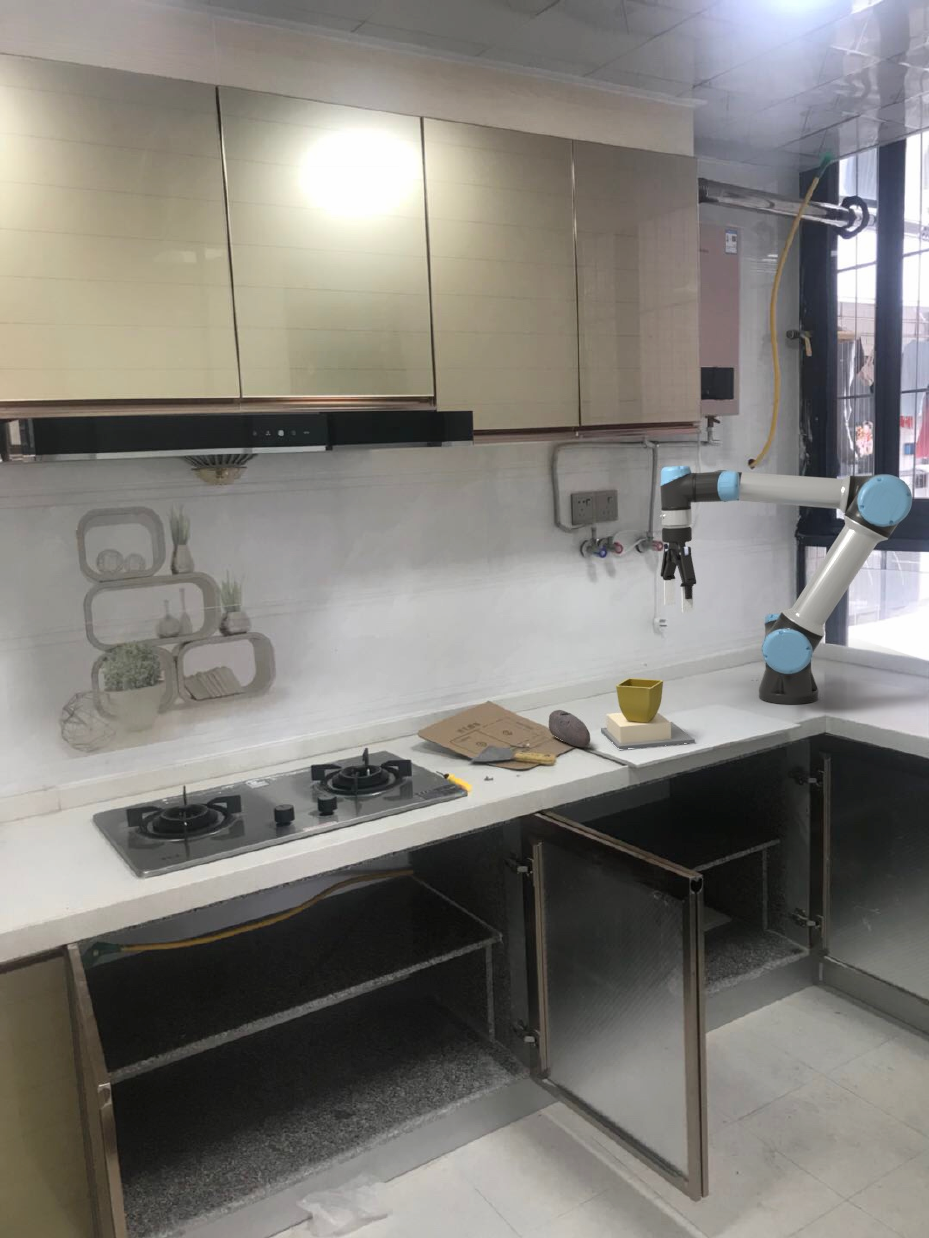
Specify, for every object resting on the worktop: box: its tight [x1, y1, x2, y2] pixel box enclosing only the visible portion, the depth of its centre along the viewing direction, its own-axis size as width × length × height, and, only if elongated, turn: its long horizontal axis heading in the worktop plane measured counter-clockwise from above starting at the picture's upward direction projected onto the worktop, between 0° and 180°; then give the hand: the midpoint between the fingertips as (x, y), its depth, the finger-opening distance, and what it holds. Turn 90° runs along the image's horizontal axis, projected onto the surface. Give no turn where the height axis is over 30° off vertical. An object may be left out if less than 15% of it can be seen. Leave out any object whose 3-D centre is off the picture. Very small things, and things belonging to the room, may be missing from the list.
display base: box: [600, 712, 696, 749], centre depth 227 cm, size 18×16×5 cm
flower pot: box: [615, 677, 664, 723], centre depth 224 cm, size 9×9×9 cm
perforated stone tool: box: [548, 709, 591, 748], centre depth 225 cm, size 15×5×7 cm, turn 23°
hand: (678, 608), depth 248 cm, fingers open, 13 cm apart
